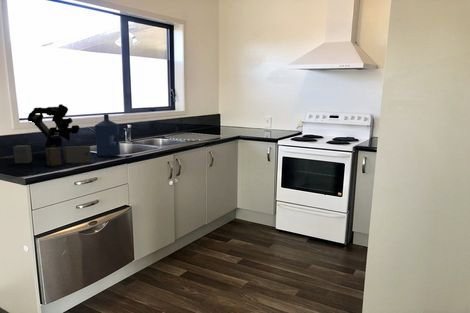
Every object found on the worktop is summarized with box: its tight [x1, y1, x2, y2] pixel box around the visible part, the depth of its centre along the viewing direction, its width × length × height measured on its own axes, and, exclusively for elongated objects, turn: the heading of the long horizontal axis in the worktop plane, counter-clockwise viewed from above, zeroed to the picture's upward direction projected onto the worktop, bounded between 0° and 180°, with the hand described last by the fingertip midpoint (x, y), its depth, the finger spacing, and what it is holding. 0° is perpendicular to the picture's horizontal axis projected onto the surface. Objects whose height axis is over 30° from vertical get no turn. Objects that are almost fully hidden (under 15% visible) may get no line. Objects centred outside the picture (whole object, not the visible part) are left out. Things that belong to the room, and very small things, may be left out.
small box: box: [12, 144, 33, 164], centre depth 226 cm, size 8×6×10 cm
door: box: [62, 145, 92, 164], centre depth 224 cm, size 16×3×10 cm, turn 98°
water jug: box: [94, 113, 121, 157], centre depth 251 cm, size 16×16×28 cm
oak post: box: [45, 147, 62, 167], centre depth 220 cm, size 7×6×10 cm
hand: (69, 140), depth 234 cm, fingers closed
